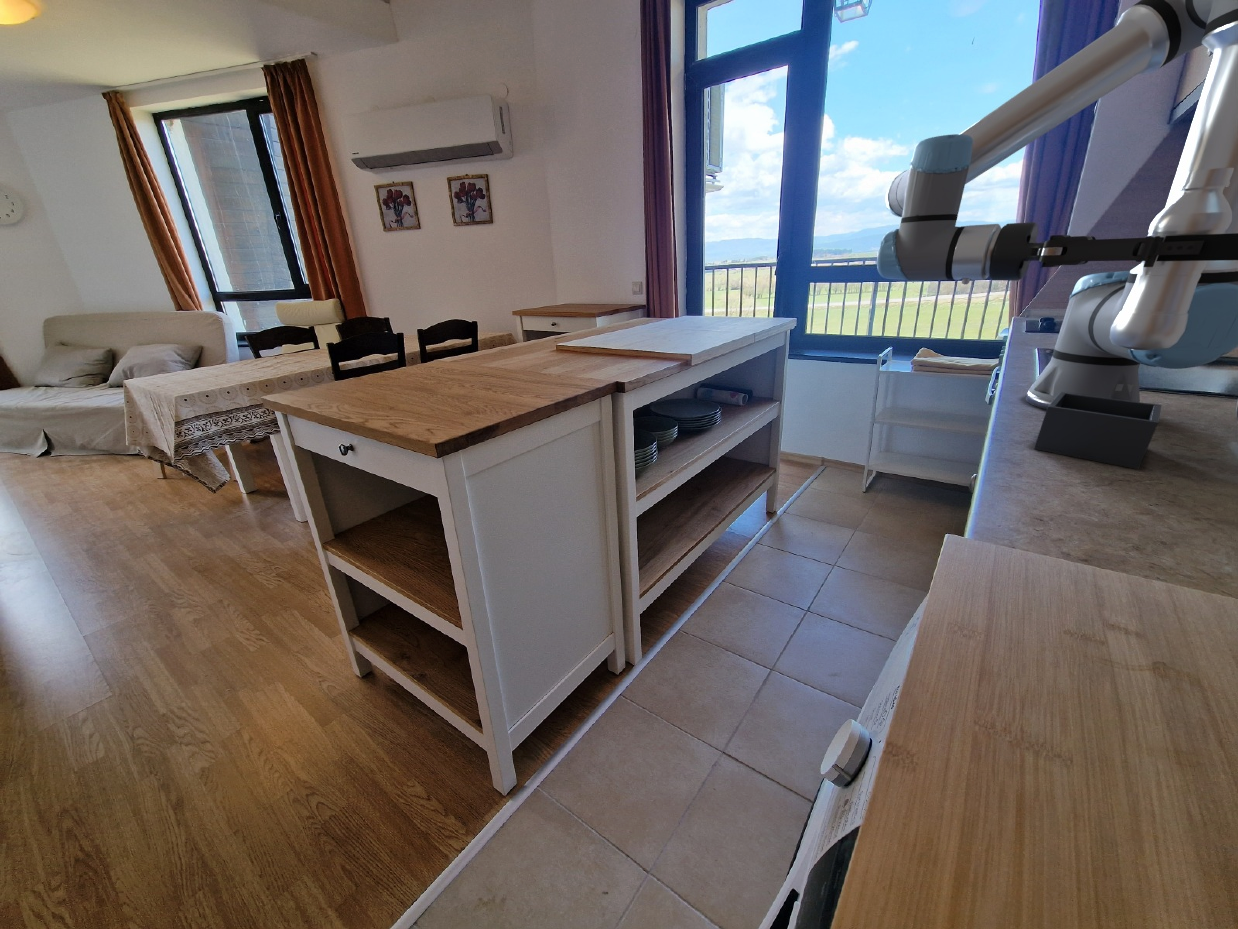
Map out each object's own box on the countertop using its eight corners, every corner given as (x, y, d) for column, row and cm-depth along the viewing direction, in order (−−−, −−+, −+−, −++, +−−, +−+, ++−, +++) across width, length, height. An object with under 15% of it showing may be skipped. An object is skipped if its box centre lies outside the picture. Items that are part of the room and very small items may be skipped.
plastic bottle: (1089, 346, 65) (1150, 175, 57) (1139, 344, 65) (1206, 173, 57) (1137, 355, 59) (1212, 166, 51) (1192, 353, 59) (1275, 164, 51)
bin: (1047, 431, 78) (1060, 391, 75) (1143, 447, 70) (1161, 404, 68) (1033, 449, 71) (1047, 406, 69) (1138, 469, 64) (1158, 422, 61)
